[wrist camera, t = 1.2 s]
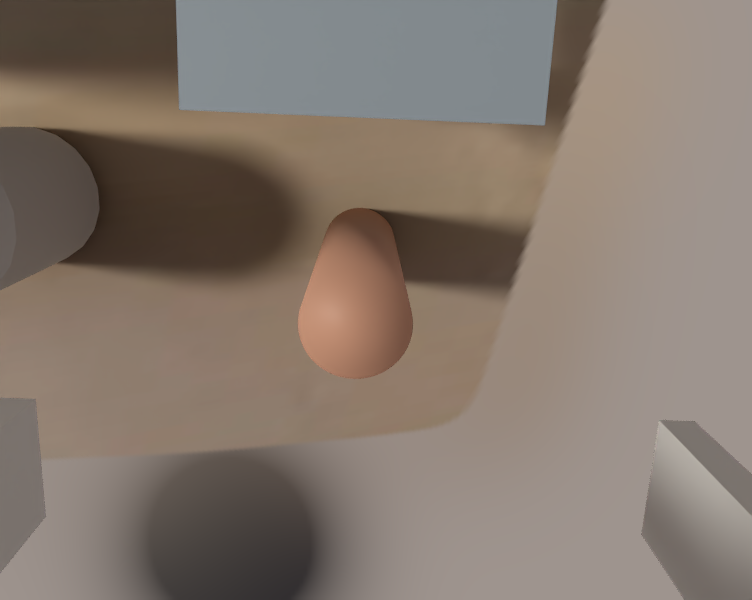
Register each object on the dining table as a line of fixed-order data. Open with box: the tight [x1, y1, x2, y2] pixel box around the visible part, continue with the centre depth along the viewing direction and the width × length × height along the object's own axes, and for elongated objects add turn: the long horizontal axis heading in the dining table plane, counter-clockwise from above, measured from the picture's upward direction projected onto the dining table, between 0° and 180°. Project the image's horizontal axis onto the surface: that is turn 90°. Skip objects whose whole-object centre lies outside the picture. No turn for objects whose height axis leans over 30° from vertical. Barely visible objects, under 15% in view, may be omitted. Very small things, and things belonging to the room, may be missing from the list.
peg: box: [298, 208, 413, 379], centre depth 32 cm, size 4×4×16 cm
